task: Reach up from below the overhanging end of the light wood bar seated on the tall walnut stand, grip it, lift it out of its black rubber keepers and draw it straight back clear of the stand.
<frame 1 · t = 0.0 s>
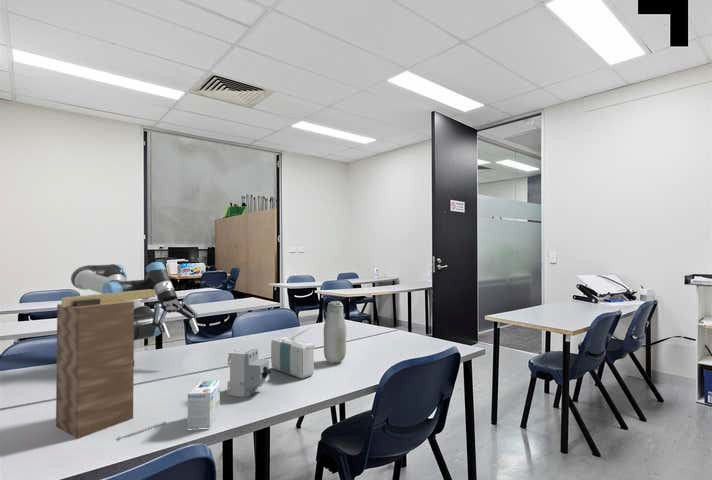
hand: (182, 335, 164), 15 cm above the table, tool tilted 35°, fingers open, 13 cm apart
walnut stand: (95, 422, 116), on the table
light bulb box: (204, 422, 116), on the table
light wood bar: (112, 301, 121), point 36 cm above the table, touching walnut stand
grey water bottle: (335, 362, 176), on the table
ruler: (143, 433, 111), on the table
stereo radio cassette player: (292, 373, 162), on the table
circuit breaker: (250, 393, 140), on the table
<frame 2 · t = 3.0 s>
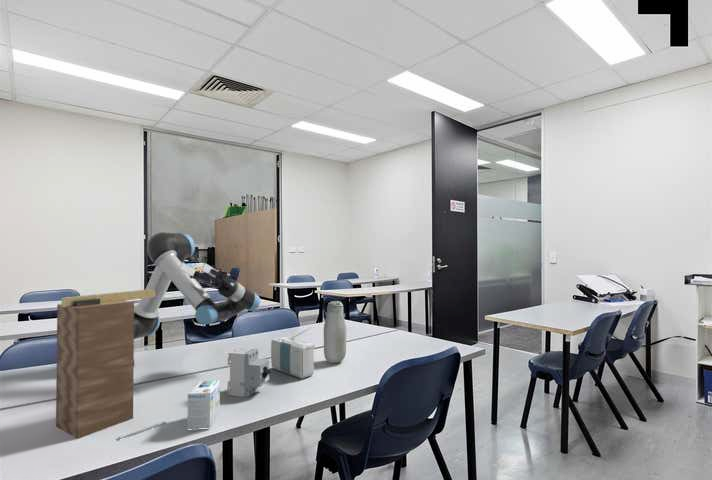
hand: (191, 265, 145), 46 cm above the table, tool pointing upward, fingers open, 13 cm apart
nothing on the table moved.
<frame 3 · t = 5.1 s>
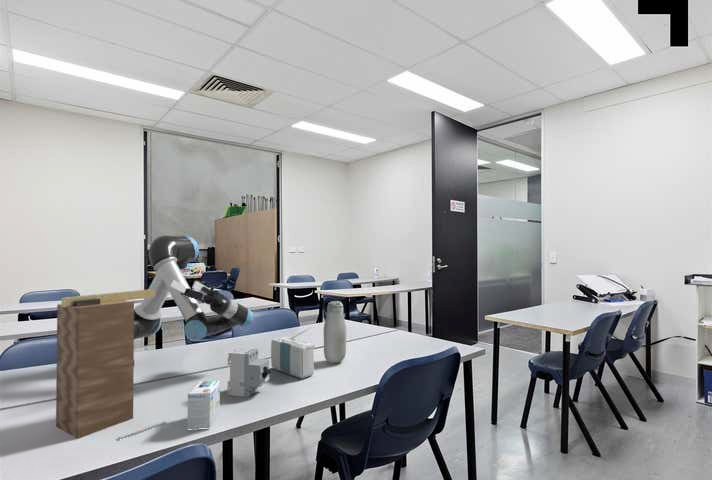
hand: (182, 283, 141), 40 cm above the table, tool pointing upward, fingers open, 13 cm apart
nothing on the table moved.
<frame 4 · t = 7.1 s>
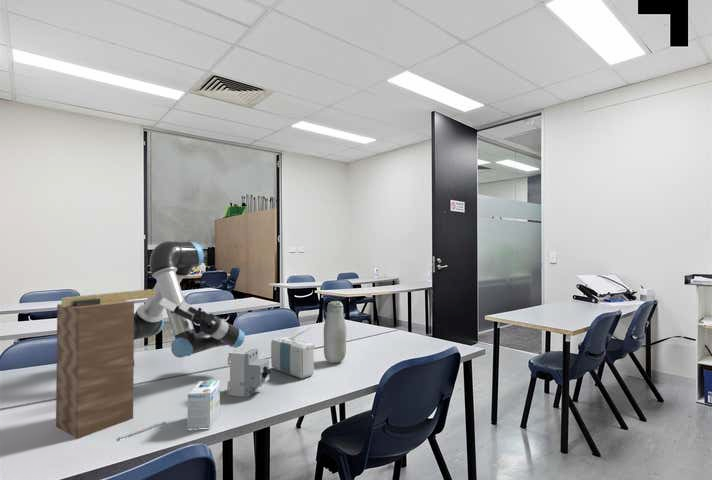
hand: (170, 302, 137), 33 cm above the table, tool pointing upward, fingers open, 12 cm apart
nothing on the table moved.
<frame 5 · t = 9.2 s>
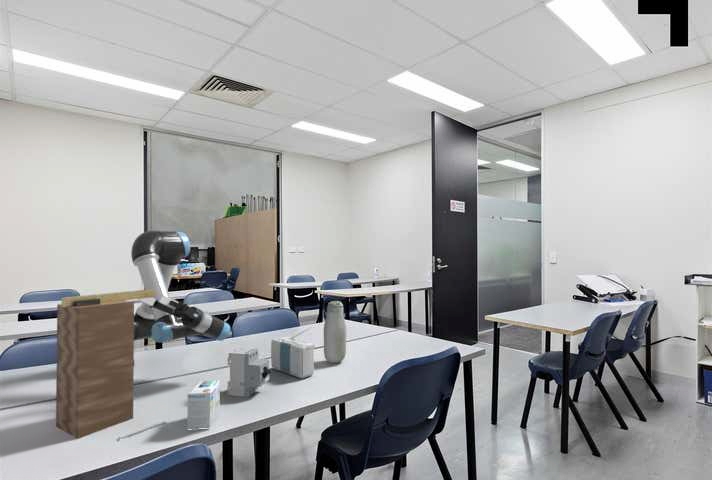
hand: (148, 296, 130), 36 cm above the table, tool pointing upward, fingers open, 13 cm apart
nothing on the table moved.
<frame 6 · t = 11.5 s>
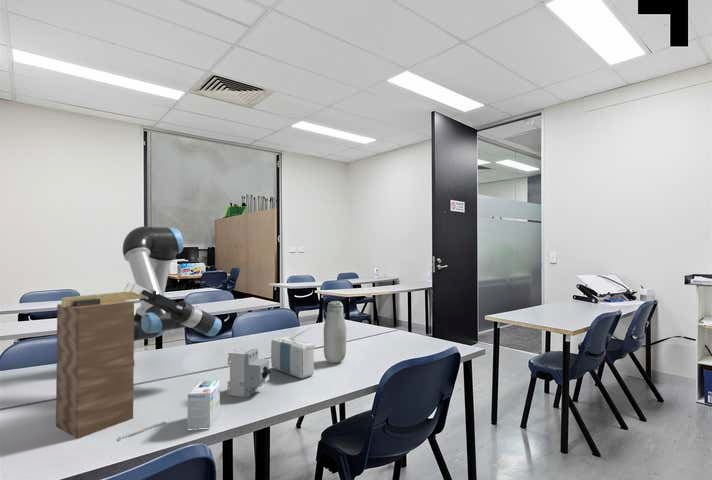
hand: (129, 287, 125), 40 cm above the table, tool pointing upward, fingers closed on light wood bar, 3 cm apart
light wood bar: (112, 301, 121), point 36 cm above the table, touching gripper, walnut stand
everything else where it was.
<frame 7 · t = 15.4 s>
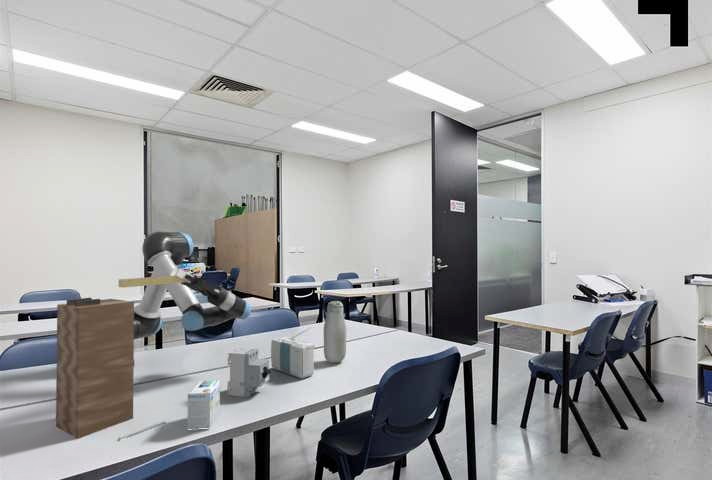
hand: (174, 271, 139), 44 cm above the table, tool pointing upward, fingers closed on light wood bar, 3 cm apart
light wood bar: (160, 283, 134), point 40 cm above the table, touching gripper
everything else where it was.
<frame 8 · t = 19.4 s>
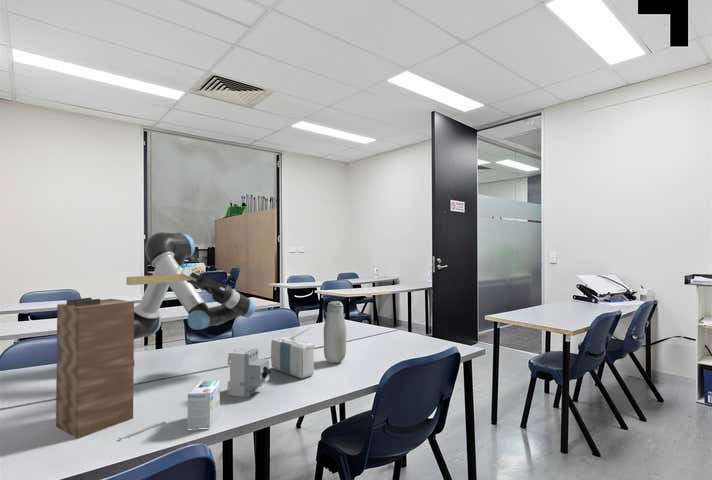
hand: (180, 269, 141), 45 cm above the table, tool pointing upward, fingers closed on light wood bar, 3 cm apart
light wood bar: (166, 281, 136), point 41 cm above the table, touching gripper
everything else where it was.
at the end: the gripper is holding light wood bar; light wood bar inside the target area (0.0 cm from its centre), point 40.7 cm above the table; light wood bar moved 18.6 cm from its start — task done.
